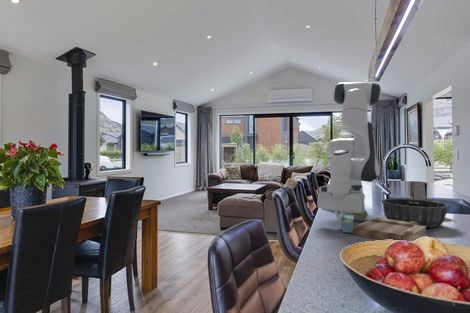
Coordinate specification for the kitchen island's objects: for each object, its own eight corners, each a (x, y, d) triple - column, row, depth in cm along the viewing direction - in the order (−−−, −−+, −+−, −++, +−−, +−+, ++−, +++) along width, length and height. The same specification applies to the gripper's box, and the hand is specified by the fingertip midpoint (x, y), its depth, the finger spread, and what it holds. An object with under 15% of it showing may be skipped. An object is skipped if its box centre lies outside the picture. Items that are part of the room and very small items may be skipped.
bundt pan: (412, 217, 171) (413, 197, 171) (463, 229, 146) (463, 205, 146) (368, 220, 162) (369, 199, 162) (414, 233, 137) (415, 208, 137)
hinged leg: (353, 233, 135) (353, 221, 135) (342, 232, 137) (342, 220, 136) (353, 223, 152) (353, 213, 152) (343, 223, 154) (343, 212, 154)
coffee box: (427, 214, 178) (427, 182, 178) (413, 213, 179) (414, 182, 179) (421, 211, 187) (421, 181, 187) (408, 210, 188) (408, 181, 188)
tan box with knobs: (352, 234, 135) (352, 223, 135) (372, 226, 150) (372, 215, 150) (413, 245, 120) (413, 232, 120) (428, 234, 135) (428, 223, 135)
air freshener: (347, 221, 159) (347, 200, 158) (340, 218, 167) (340, 197, 167) (370, 221, 159) (370, 200, 159) (362, 218, 167) (362, 197, 167)
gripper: (367, 190, 142) (367, 223, 142) (322, 186, 156) (322, 216, 156) (361, 191, 137) (360, 226, 138) (315, 187, 151) (315, 218, 152)
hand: (340, 221), depth 147 cm, fingers closed
